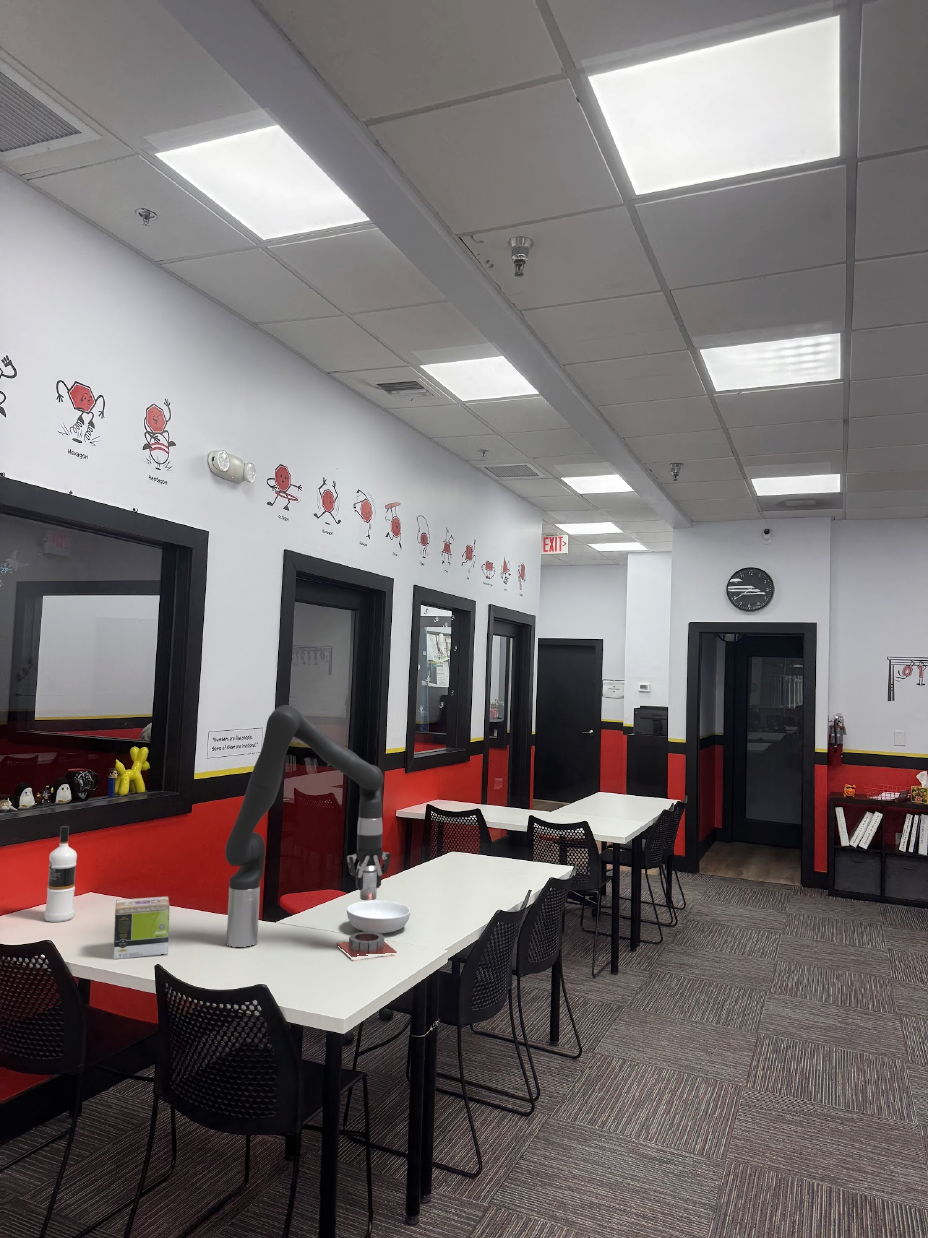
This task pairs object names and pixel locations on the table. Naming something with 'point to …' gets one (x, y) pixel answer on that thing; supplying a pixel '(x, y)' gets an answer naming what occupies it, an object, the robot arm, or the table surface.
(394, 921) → the serving bowl
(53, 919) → the vodka
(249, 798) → the robot arm
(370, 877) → the cylinder
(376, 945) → the collar
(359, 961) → the table surface
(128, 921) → the tea box
